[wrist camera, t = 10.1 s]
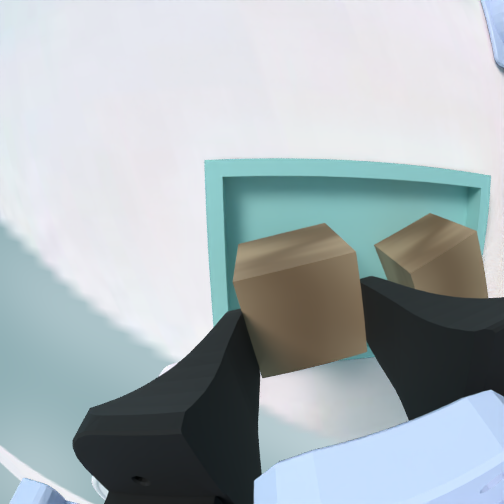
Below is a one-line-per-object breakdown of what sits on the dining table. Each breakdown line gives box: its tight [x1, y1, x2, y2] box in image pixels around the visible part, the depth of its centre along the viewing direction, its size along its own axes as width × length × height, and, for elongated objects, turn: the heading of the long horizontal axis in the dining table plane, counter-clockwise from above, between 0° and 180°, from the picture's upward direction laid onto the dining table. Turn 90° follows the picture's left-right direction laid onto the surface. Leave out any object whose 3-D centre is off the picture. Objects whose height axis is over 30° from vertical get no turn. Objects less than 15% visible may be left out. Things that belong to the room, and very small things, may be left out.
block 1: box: [233, 223, 367, 378], centre depth 12 cm, size 4×4×4 cm
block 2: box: [374, 213, 488, 298], centre depth 14 cm, size 4×4×4 cm
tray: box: [205, 158, 491, 361], centre depth 16 cm, size 16×11×2 cm
